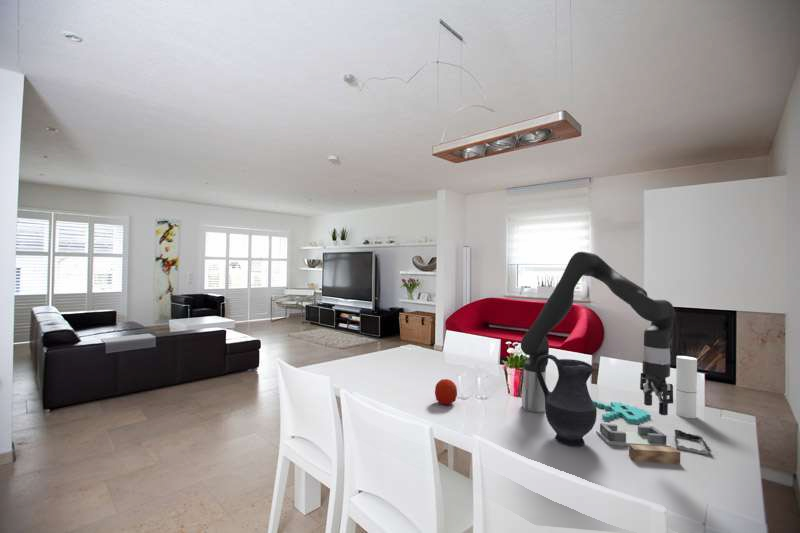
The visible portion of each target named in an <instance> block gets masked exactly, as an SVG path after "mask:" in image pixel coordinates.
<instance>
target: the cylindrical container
mask: <svg viewBox="0 0 800 533" xmlns="http://www.w3.org/2000/svg"><path fill="white" fill-rule="evenodd" d="M675 362H676V363H675V364H676V365H675V367H676V371H675V372H676V374H675V375H676V376H675V415H677V416H679V417H682V418H686V419H696V418H697V397H698V396H697V393H698V392H697V391H698V390H697V388H698V387H697V386H698V384H697V383H698V358H697V357H693V356H688V355H676V361H675Z"/></svg>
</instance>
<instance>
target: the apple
mask: <svg viewBox="0 0 800 533" xmlns="http://www.w3.org/2000/svg"><path fill="white" fill-rule="evenodd" d="M457 395H458V389H457V385H456V384H455V382H453V381H452V380H451V379H446V378H445V379H444V378H443V379H440V380H439V381H438V382H437V383H436V384H435V388H434V396H435V400H436V402H438V403H439V404H440V405H443V406H449V405H452V404H453V403H454V402H456V400H457Z"/></svg>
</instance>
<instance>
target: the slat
mask: <svg viewBox="0 0 800 533" xmlns="http://www.w3.org/2000/svg"><path fill="white" fill-rule="evenodd" d="M628 456H629V457H630V458H631V459H632V460H633V461H634V462H643V461H645V463H660V464H671V465H672V464H673V465H674V464H675V465H680V464H681V451H679V449H678V448H676V447H674V446H671V447H662V446H646V445H631V444H629V446H628Z"/></svg>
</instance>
